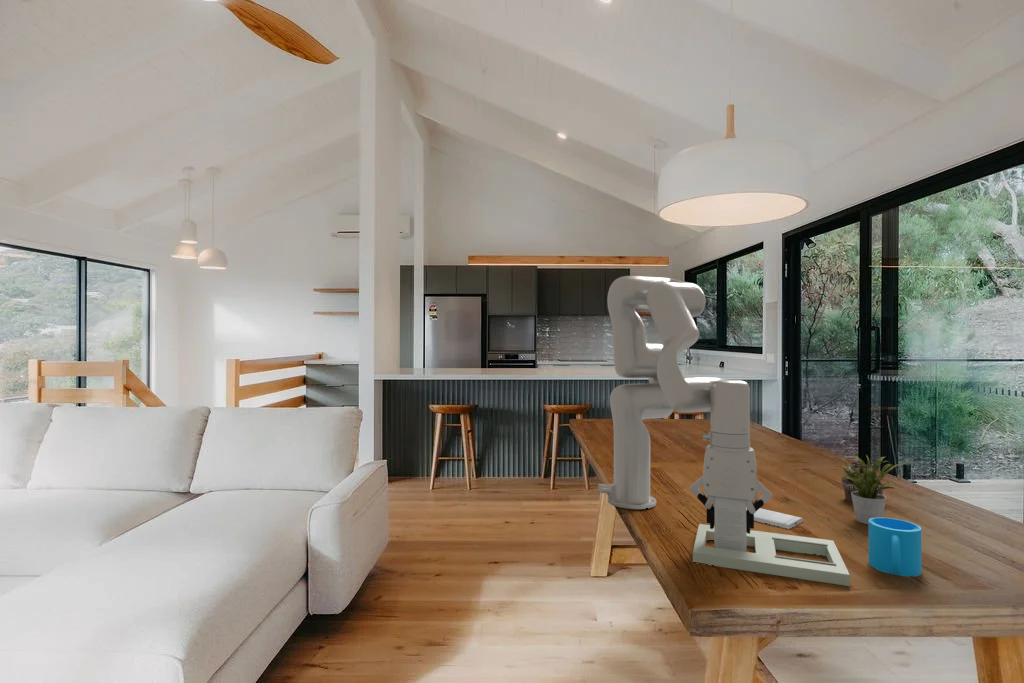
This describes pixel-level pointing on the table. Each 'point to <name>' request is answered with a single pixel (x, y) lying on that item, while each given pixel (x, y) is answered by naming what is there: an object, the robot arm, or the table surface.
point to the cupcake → (850, 489)
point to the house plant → (868, 489)
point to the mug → (895, 546)
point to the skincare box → (730, 524)
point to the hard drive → (776, 518)
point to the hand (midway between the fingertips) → (729, 528)
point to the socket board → (775, 556)
